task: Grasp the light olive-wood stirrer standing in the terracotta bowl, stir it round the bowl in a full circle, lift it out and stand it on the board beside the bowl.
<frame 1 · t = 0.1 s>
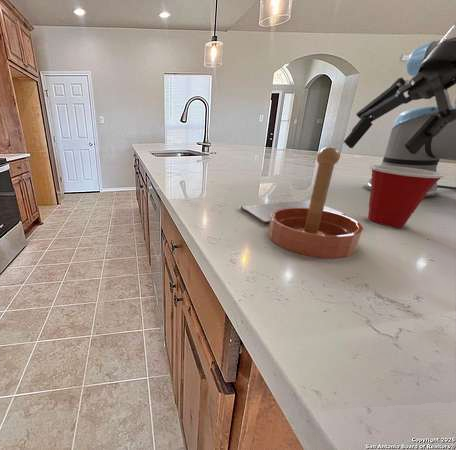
hand: (375, 147, 53), 15 cm above the counter, tool tilted 35°, fingers open, 13 cm apart
stirrer: (308, 238, 46), point 1 cm above the counter, touching bowl
plastic cup: (385, 224, 53), on the counter
bowl: (308, 241, 46), on the counter
board: (289, 214, 60), on the counter
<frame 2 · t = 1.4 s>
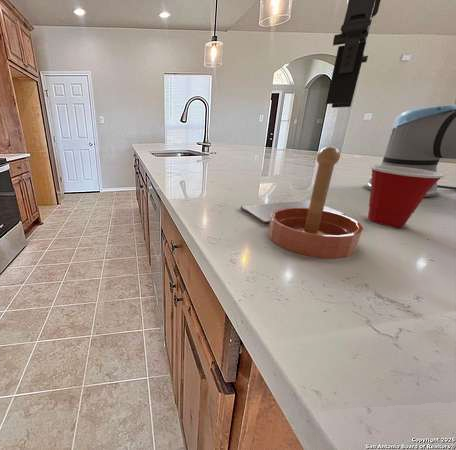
hand: (339, 105, 38), 23 cm above the counter, tool pointing down, fingers open, 13 cm apart
nothing on the counter moved.
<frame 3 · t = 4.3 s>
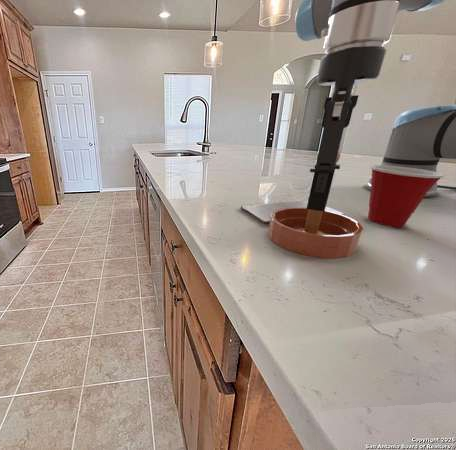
hand: (316, 207, 44), 7 cm above the counter, tool pointing down, fingers closed on stirrer, 2 cm apart
stirrer: (308, 238, 46), point 1 cm above the counter, touching bowl, gripper
everything else where it was.
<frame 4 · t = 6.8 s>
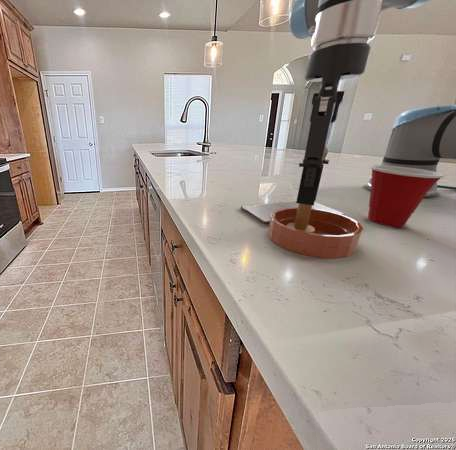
hand: (306, 201, 45), 8 cm above the counter, tool pointing down, fingers closed on stirrer, 2 cm apart
stirrer: (299, 232, 47), point 1 cm above the counter, touching gripper
everything else where it was.
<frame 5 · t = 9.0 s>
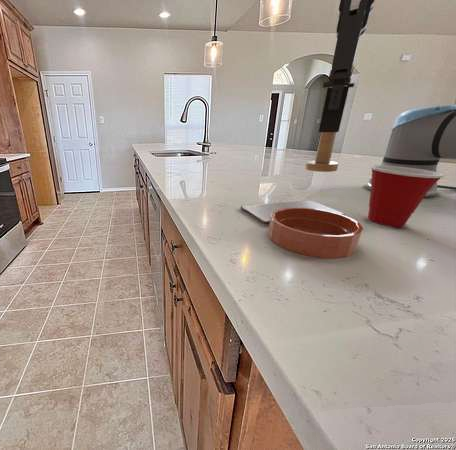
hand: (328, 131, 41), 20 cm above the counter, tool pointing down, fingers closed on stirrer, 2 cm apart
stirrer: (320, 169, 44), point 13 cm above the counter, touching gripper
everything else where it was.
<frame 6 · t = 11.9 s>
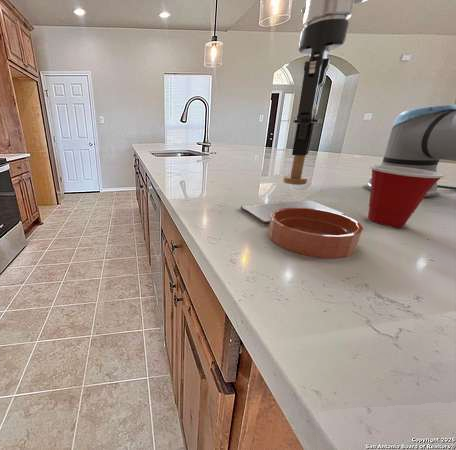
hand: (300, 154, 54), 14 cm above the counter, tool pointing down, fingers closed on stirrer, 2 cm apart
stirrer: (294, 182, 57), point 8 cm above the counter, touching gripper
everything else where it was.
when the fingers open (8 cm above the counter, at t = 14.0 s): stirrer stays where it is, resting on board.
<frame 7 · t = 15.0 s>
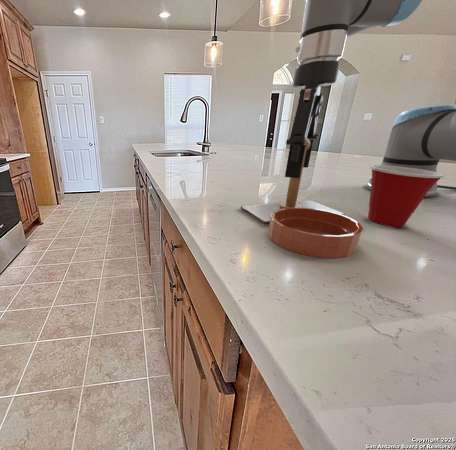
hand: (297, 171, 56), 10 cm above the counter, tool pointing down, fingers open, 13 cm apart
stirrer: (289, 209, 60), point 1 cm above the counter, touching board
everything else where it was.
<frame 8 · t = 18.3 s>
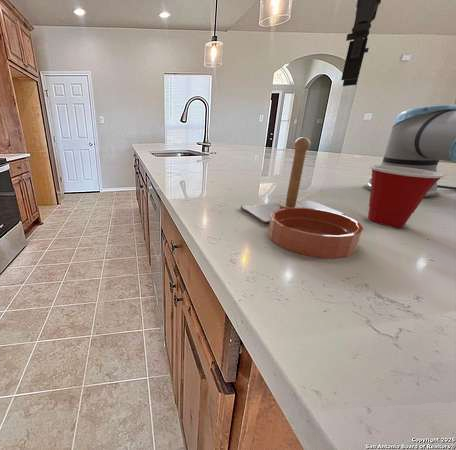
hand: (349, 82, 54), 29 cm above the counter, tool pointing down, fingers open, 13 cm apart
nothing on the counter moved.
at the end: stirrer inside the target area on the board (0.1 cm from its centre), point 1.2 cm above the board's base; stirrer tilted 0°; the gripper is holding nothing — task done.
